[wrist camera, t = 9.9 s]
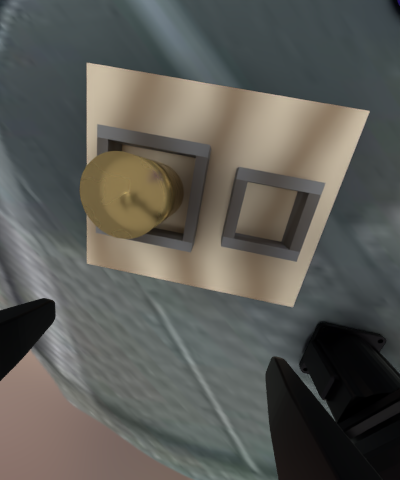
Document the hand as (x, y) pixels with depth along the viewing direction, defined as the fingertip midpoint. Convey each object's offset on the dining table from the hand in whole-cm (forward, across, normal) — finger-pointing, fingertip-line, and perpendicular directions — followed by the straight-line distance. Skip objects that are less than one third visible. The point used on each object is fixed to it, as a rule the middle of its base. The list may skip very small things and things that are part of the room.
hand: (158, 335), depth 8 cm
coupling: (+10, +4, -4) cm, 12 cm away
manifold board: (+12, 0, -4) cm, 12 cm away
